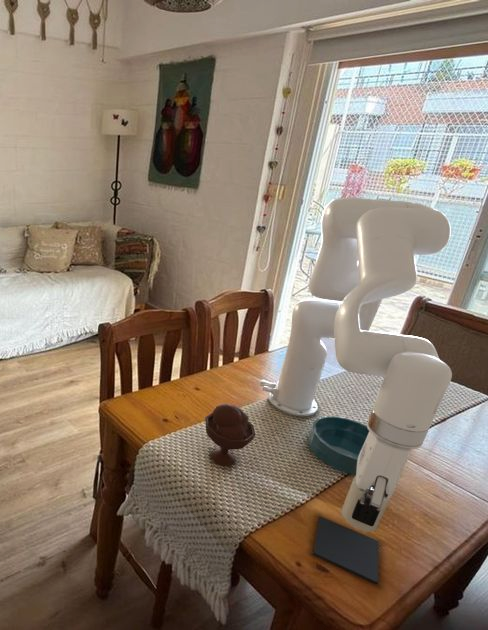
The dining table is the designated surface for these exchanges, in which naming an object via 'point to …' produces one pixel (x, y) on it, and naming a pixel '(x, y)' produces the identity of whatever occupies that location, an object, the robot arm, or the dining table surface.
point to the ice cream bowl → (228, 432)
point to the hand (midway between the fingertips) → (363, 508)
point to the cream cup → (351, 502)
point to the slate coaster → (347, 549)
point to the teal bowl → (338, 442)
